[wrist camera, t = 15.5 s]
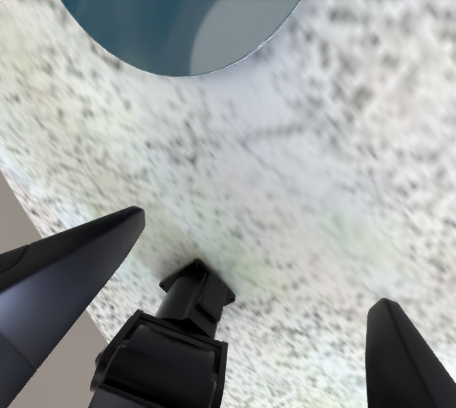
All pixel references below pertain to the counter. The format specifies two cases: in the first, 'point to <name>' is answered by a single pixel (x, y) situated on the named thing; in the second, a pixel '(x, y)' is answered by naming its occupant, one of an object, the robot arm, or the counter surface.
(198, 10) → the pot lid
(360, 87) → the counter surface
